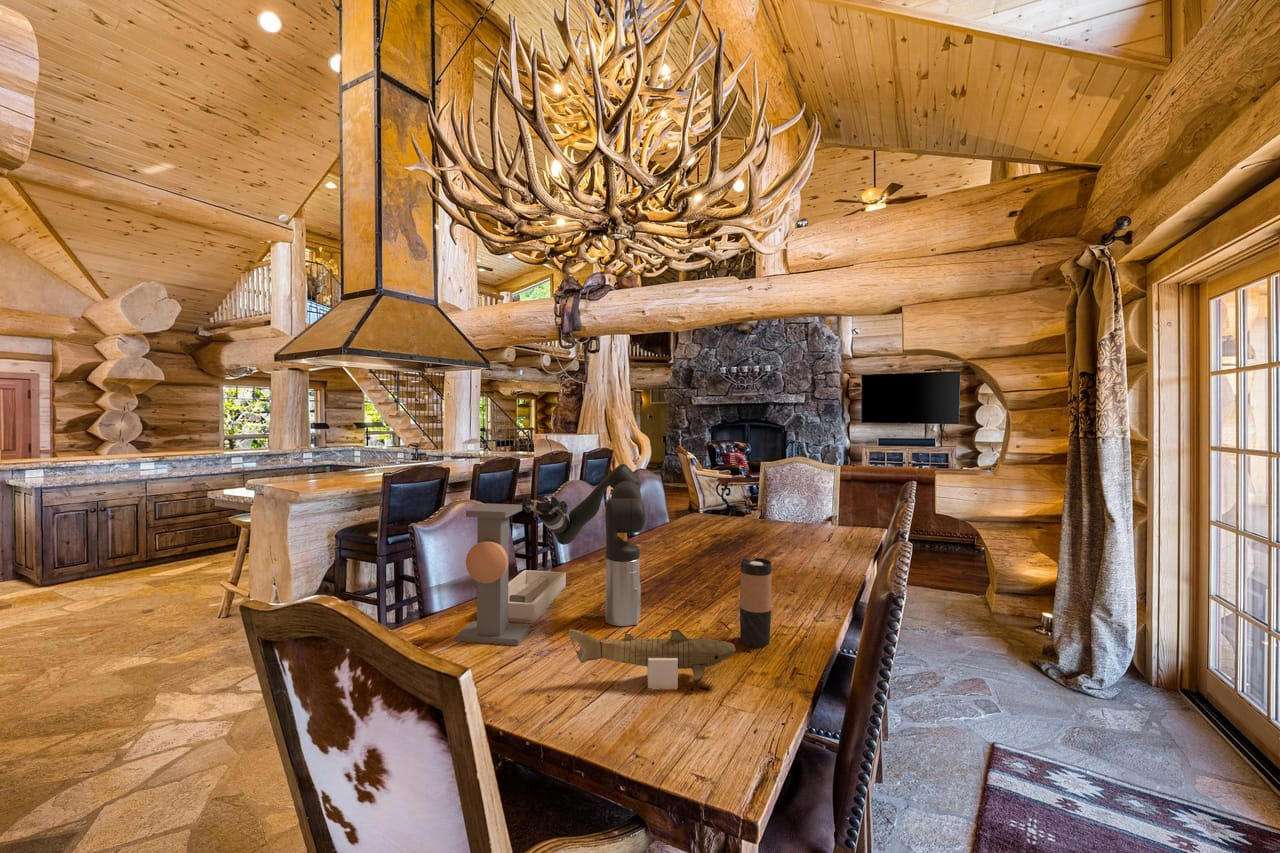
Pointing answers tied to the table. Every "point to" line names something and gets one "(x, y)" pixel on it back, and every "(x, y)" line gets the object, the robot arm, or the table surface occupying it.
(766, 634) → the travel mug
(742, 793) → the table surface
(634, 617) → the robot arm
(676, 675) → the wood carving
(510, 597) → the grey brown long block
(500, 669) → the table surface
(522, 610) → the off-white tray
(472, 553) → the stand
